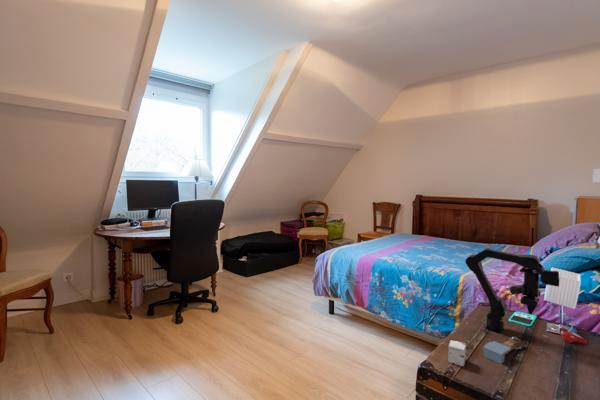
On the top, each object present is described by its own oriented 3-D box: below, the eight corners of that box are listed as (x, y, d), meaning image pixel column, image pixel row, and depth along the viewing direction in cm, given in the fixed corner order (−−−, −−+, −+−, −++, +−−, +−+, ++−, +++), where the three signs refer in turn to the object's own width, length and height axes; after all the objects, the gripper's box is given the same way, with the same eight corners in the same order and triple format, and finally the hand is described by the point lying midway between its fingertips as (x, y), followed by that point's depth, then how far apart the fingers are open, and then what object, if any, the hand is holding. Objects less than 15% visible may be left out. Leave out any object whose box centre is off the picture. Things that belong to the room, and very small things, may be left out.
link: (511, 340, 147) (511, 336, 147) (522, 344, 144) (522, 340, 144) (492, 353, 137) (492, 348, 137) (503, 358, 134) (503, 353, 134)
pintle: (502, 344, 146) (502, 336, 145) (509, 340, 149) (510, 332, 149) (519, 351, 140) (519, 343, 139) (526, 346, 143) (526, 338, 143)
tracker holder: (591, 340, 146) (582, 341, 141) (587, 348, 147) (578, 349, 142) (561, 324, 156) (552, 324, 151) (557, 331, 157) (548, 332, 152)
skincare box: (448, 362, 133) (448, 345, 132) (450, 355, 138) (450, 339, 137) (464, 366, 129) (464, 349, 129) (465, 359, 134) (466, 343, 134)
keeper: (480, 354, 138) (480, 345, 137) (490, 348, 142) (490, 339, 142) (500, 363, 131) (501, 354, 130) (511, 357, 135) (511, 347, 135)
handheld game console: (537, 318, 172) (537, 315, 172) (530, 328, 162) (531, 325, 161) (515, 312, 180) (515, 310, 180) (508, 321, 169) (508, 319, 169)
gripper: (513, 274, 161) (513, 303, 162) (507, 283, 147) (507, 316, 148) (541, 278, 154) (540, 309, 155) (537, 288, 140) (536, 322, 141)
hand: (530, 313), depth 150 cm, fingers closed
